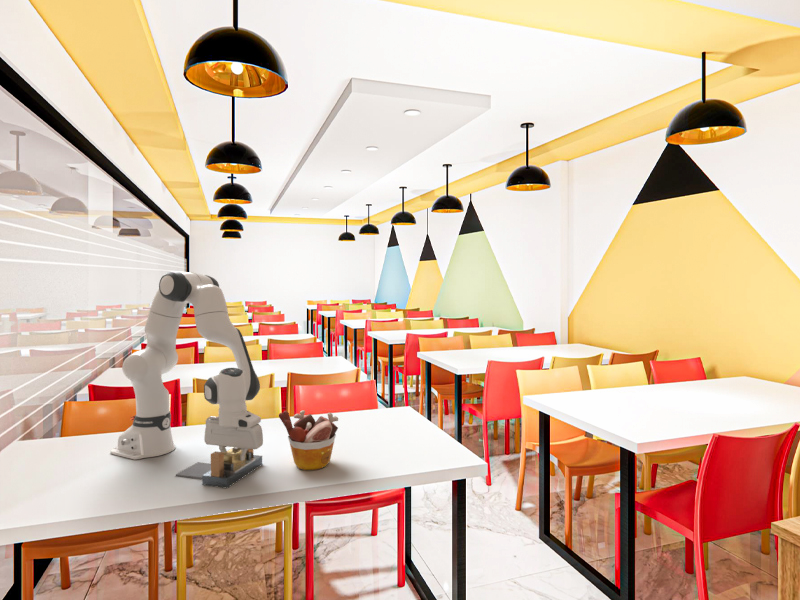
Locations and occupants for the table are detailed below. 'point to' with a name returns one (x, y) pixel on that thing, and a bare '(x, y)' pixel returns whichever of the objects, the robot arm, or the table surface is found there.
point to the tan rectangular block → (233, 456)
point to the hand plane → (229, 469)
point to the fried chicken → (310, 439)
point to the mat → (195, 470)
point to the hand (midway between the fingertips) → (233, 459)
